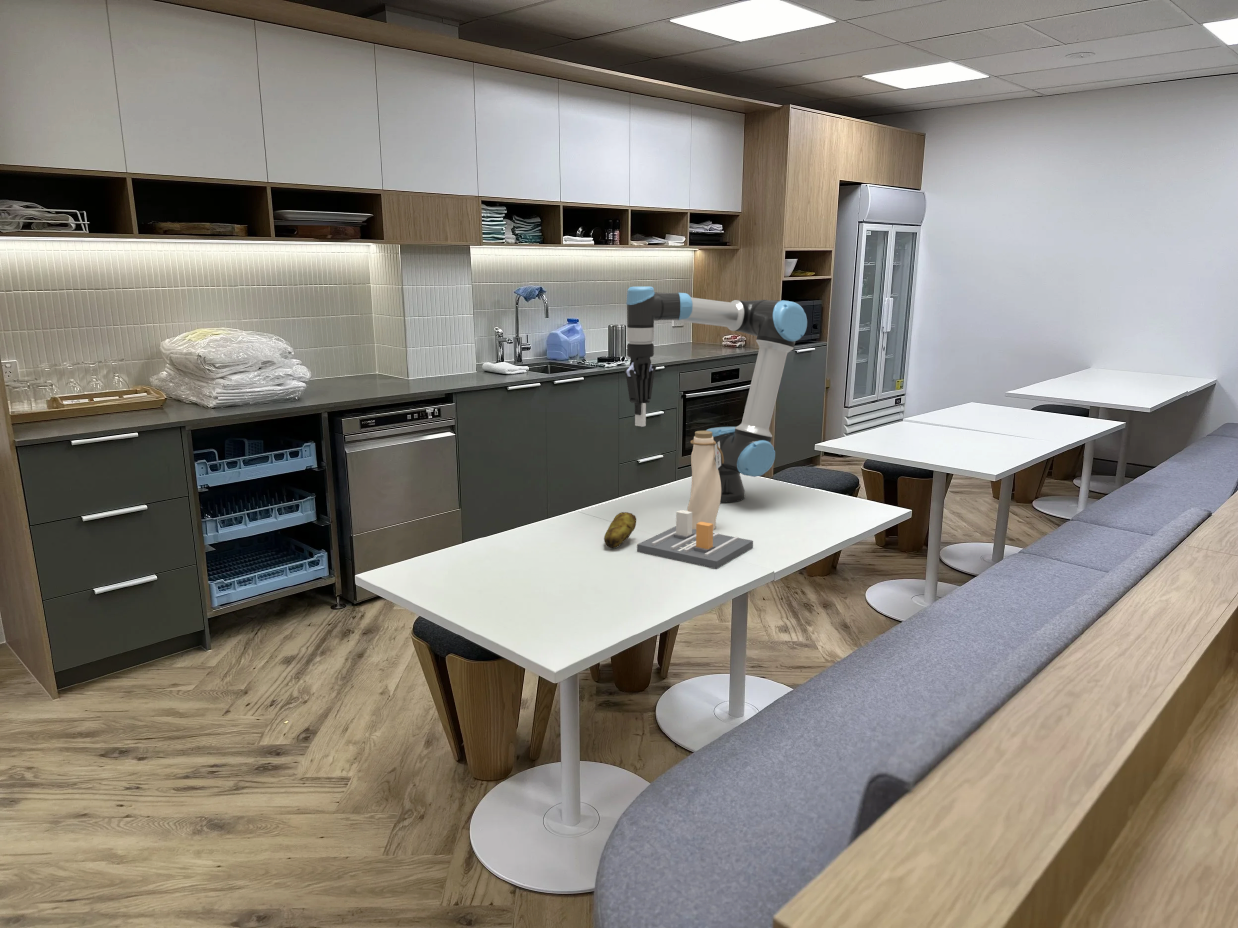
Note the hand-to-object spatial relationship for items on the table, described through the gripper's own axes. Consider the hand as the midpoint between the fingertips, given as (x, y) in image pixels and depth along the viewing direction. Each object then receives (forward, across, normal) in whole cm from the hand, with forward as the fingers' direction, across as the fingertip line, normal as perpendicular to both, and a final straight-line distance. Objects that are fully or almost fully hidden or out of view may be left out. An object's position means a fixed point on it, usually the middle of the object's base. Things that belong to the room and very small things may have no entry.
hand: (640, 425), depth 246 cm
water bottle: (+30, -8, +17) cm, 35 cm away
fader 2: (+27, +15, +30) cm, 43 cm away
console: (+29, +11, +25) cm, 40 cm away
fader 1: (+27, +9, +20) cm, 35 cm away
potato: (+30, +18, +5) cm, 35 cm away
